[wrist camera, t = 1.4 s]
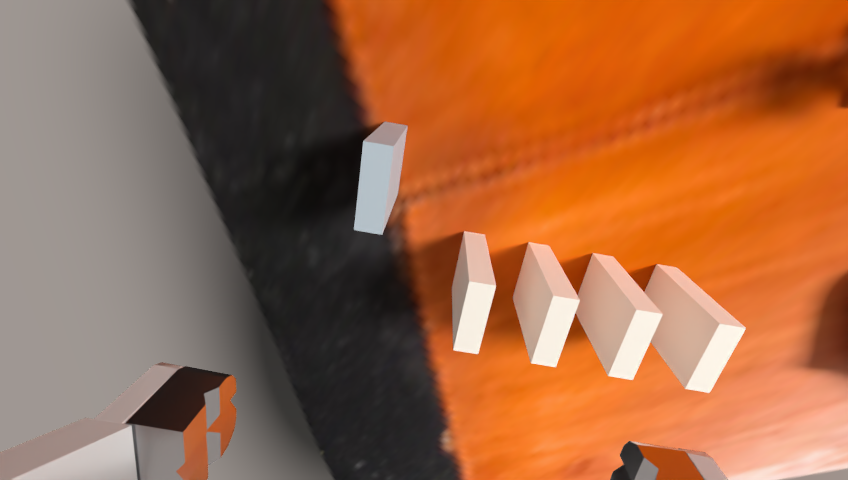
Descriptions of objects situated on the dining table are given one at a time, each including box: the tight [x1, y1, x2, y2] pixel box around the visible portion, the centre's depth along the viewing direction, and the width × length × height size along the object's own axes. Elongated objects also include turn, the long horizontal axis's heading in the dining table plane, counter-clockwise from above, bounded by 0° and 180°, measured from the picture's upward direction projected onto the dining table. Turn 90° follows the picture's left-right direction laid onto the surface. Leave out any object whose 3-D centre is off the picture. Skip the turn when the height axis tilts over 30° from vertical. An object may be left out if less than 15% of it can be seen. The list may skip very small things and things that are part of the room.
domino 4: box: [576, 253, 663, 380], centre depth 29 cm, size 2×5×8 cm, turn 171°
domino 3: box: [513, 242, 580, 367], centre depth 29 cm, size 2×5×8 cm, turn 171°
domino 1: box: [354, 122, 407, 235], centre depth 26 cm, size 2×5×8 cm, turn 171°
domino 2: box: [452, 231, 496, 354], centre depth 29 cm, size 2×5×8 cm, turn 171°
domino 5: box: [644, 264, 746, 393], centre depth 29 cm, size 2×5×8 cm, turn 171°
